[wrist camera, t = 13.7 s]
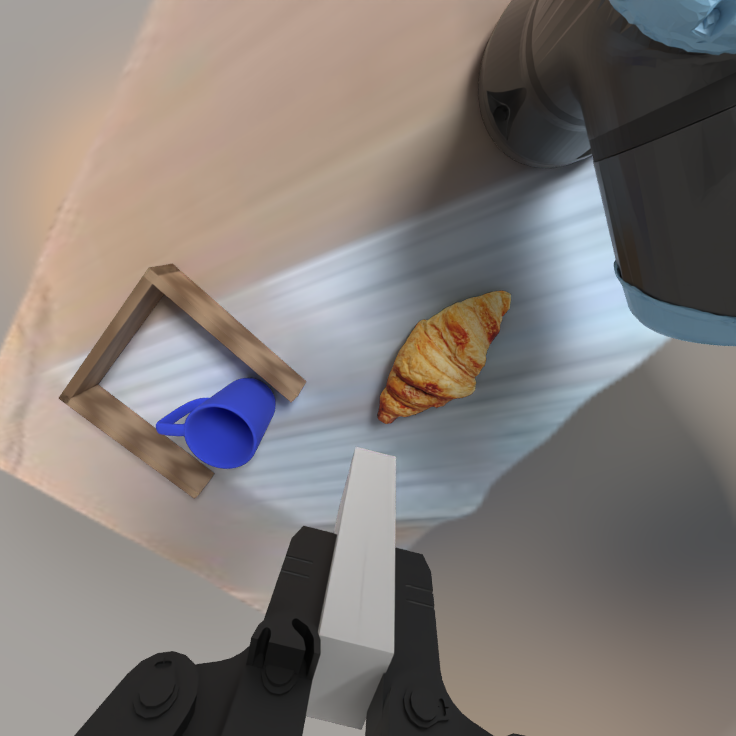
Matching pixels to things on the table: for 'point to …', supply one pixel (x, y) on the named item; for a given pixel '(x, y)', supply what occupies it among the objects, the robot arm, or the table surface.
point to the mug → (224, 423)
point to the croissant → (443, 356)
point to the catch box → (137, 307)
